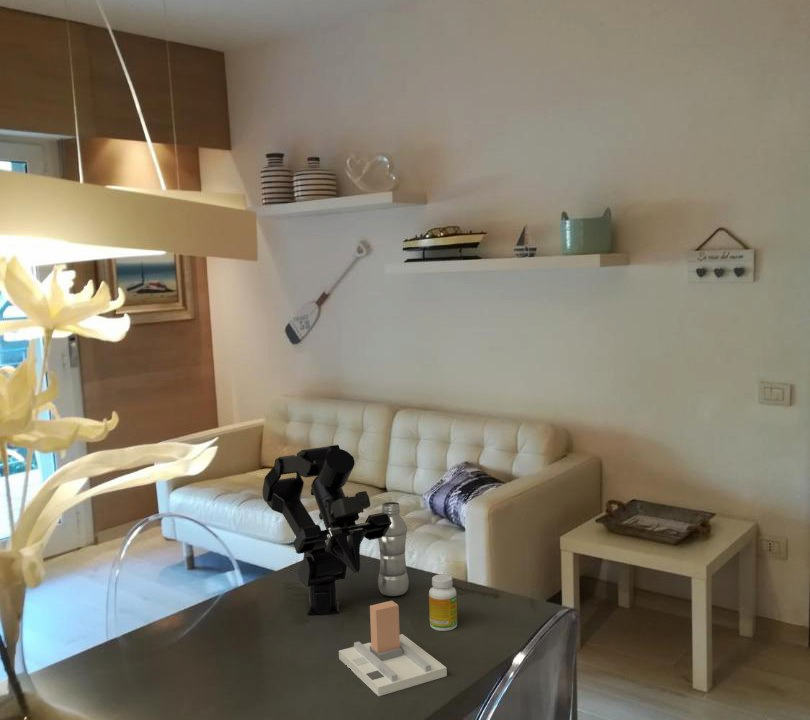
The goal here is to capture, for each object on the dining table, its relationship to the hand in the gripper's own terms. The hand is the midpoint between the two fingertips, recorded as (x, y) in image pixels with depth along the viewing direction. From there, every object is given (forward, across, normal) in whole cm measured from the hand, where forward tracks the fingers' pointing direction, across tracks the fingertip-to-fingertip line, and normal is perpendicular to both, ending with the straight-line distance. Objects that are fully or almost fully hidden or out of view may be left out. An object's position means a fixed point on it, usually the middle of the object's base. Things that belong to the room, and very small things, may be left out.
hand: (357, 571), depth 152 cm
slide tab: (+16, 0, +1) cm, 16 cm away
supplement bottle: (+12, +17, +8) cm, 22 cm away
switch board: (+19, 0, 0) cm, 19 cm away
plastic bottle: (-2, +16, +22) cm, 27 cm away
